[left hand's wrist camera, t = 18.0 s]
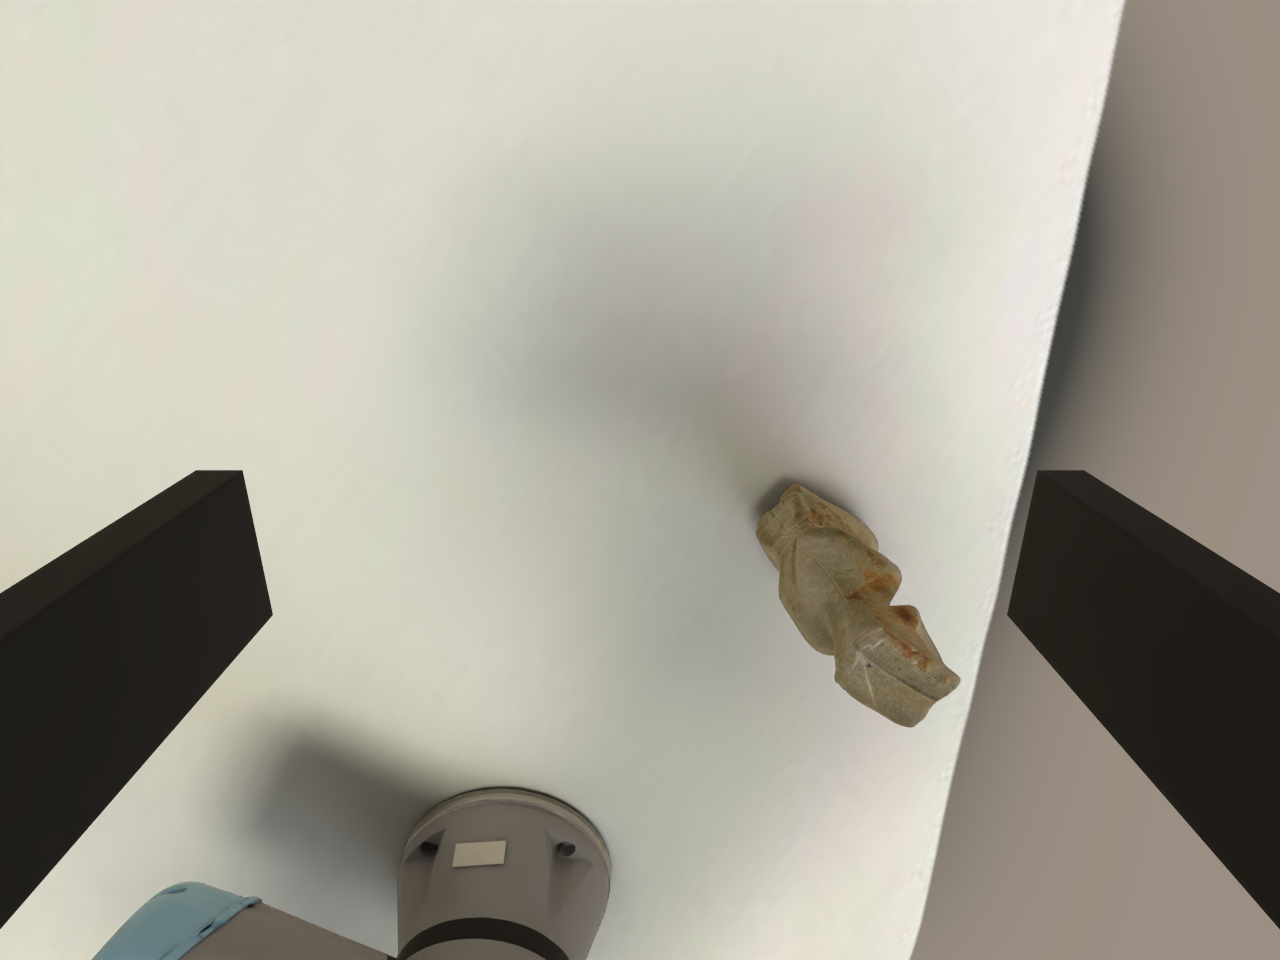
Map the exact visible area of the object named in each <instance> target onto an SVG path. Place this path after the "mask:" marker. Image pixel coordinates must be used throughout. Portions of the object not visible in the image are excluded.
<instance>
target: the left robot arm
mask: <svg viewBox="0 0 1280 960" xmlns="http://www.w3.org/2000/svg"><path fill="white" fill-rule="evenodd" d="M272 615H273V613H272V609H271V604H270V599H269V594H268V590H267V585H266V580H265V575H264V571H263V566H262V561H261V556H260V552H259V547H258V542H257V537H256V533H255V528H254V523H253V518H252V513H251V509H250V504H249V499H248V494H247V490H246V485H245V480H244V475H243V471H242V470H196V471H194V472H193V473H191V474H190V475H188V476H186V477H185V478H183V479H182V480H180V481H178V482H177V483H175V484H174V485H172V486H171V487H169V488H167V489H166V490H164V491H163V492H161V493H159V494H158V495H156V496H155V497H153V498H151V499H150V500H148V501H147V502H145V503H143V504H142V505H140V506H139V507H137V508H136V509H134V510H132V511H131V512H129V513H128V514H126V515H124V516H123V517H121V518H120V519H118V520H116V521H115V522H113V523H112V524H110V525H108V526H107V527H105V528H104V529H102V530H101V531H99V532H97V533H96V534H94V535H93V536H91V537H89V538H88V539H86V540H85V541H83V542H81V543H80V544H78V545H77V546H75V547H73V548H72V549H70V550H69V551H67V552H66V553H64V554H62V555H61V556H59V557H58V558H56V559H54V560H53V561H51V562H50V563H48V564H46V565H45V566H43V567H42V568H40V569H38V570H37V571H35V572H34V573H32V574H31V575H29V576H27V577H26V578H24V579H23V580H21V581H19V582H18V583H16V584H15V585H13V586H11V587H10V588H8V589H7V590H5V591H3V592H2V593H0V929H1V928H2V927H3V925H4V924H5V923H6V922H7V921H8V920H9V918H10V917H11V916H12V915H13V914H14V913H15V912H16V910H17V909H18V908H19V907H20V906H21V905H22V903H23V902H24V901H25V900H26V899H27V898H28V897H29V895H30V894H31V893H32V892H33V891H34V890H35V888H36V887H37V886H38V885H39V884H40V883H41V882H42V880H43V879H44V878H45V877H46V876H47V875H48V873H49V872H50V871H51V870H52V869H53V868H54V867H55V865H56V864H57V863H58V862H59V861H60V860H61V858H62V857H63V856H64V855H65V854H66V853H67V852H68V850H69V849H70V848H71V847H72V846H73V845H74V843H75V842H76V841H77V840H78V839H79V838H80V837H81V835H82V834H83V833H84V832H85V831H86V830H87V828H88V827H89V826H90V825H91V824H92V823H93V822H94V820H95V819H96V818H97V817H98V816H99V815H100V814H101V812H102V811H103V810H104V809H105V808H106V807H107V805H108V804H109V803H110V802H111V801H112V800H113V799H114V797H115V796H116V795H117V794H118V793H119V792H120V790H121V789H122V788H123V787H124V786H125V785H126V784H127V782H128V781H129V780H130V779H131V778H132V777H133V775H134V774H135V773H136V772H137V771H138V770H139V769H140V767H141V766H142V765H143V764H144V763H145V762H146V760H147V759H148V758H149V757H150V756H151V755H152V754H153V752H154V751H155V750H156V749H157V748H158V747H159V745H160V744H161V743H162V742H163V741H164V740H165V739H166V737H167V736H168V735H169V734H170V733H171V732H172V730H173V729H174V728H175V727H176V726H177V725H178V724H179V722H180V721H181V720H182V719H183V718H184V717H185V715H186V714H187V713H188V712H189V711H190V710H191V709H192V707H193V706H194V705H195V704H196V703H197V702H198V701H199V699H200V698H201V697H202V696H203V695H204V694H205V692H206V691H207V690H208V689H209V688H210V687H211V686H212V684H213V683H214V682H215V681H216V680H217V679H218V677H219V676H220V675H221V674H222V673H223V672H224V671H225V669H226V668H227V667H228V666H229V665H230V664H231V662H232V661H233V660H234V659H235V658H236V657H237V656H238V654H239V653H240V652H241V651H242V650H243V649H244V647H245V646H246V645H247V644H248V643H249V642H250V641H251V639H252V638H253V637H254V636H255V635H256V634H257V632H258V631H259V630H260V629H261V628H262V627H263V626H264V624H265V623H266V622H267V621H268V620H269V619H270V617H271V616H272ZM1007 615H1008V616H1009V617H1010V619H1011V620H1012V621H1013V622H1014V623H1015V624H1016V626H1017V627H1018V628H1019V629H1020V630H1021V631H1022V632H1023V634H1024V635H1025V636H1026V637H1027V638H1028V639H1029V641H1030V642H1031V643H1032V644H1033V645H1034V646H1035V647H1036V649H1037V650H1038V651H1039V652H1040V653H1041V654H1042V655H1043V657H1044V658H1045V659H1046V660H1047V661H1048V662H1049V664H1050V665H1051V666H1052V667H1053V668H1054V669H1055V671H1056V672H1057V673H1058V674H1059V675H1060V676H1061V677H1062V679H1063V680H1064V681H1065V682H1066V683H1067V684H1068V686H1069V687H1070V688H1071V689H1072V690H1073V691H1074V692H1075V694H1076V695H1077V696H1078V697H1079V698H1080V699H1081V701H1082V702H1083V703H1084V704H1085V705H1086V706H1087V707H1088V709H1089V710H1090V711H1091V712H1092V713H1093V714H1094V715H1095V717H1096V718H1097V719H1098V720H1099V721H1100V722H1101V724H1102V725H1103V726H1104V727H1105V728H1106V729H1107V730H1108V732H1109V733H1110V734H1111V735H1112V736H1113V737H1114V739H1115V740H1116V741H1117V742H1118V743H1119V744H1120V745H1121V747H1122V748H1123V749H1124V750H1125V751H1126V752H1127V754H1128V755H1129V756H1130V757H1131V758H1132V759H1133V760H1134V762H1135V763H1136V764H1137V765H1138V766H1139V767H1140V769H1141V770H1142V771H1143V772H1144V773H1145V774H1146V775H1147V777H1148V778H1149V779H1150V780H1151V781H1152V782H1153V784H1154V785H1155V786H1156V787H1157V788H1158V789H1159V790H1160V792H1161V793H1162V794H1163V795H1164V796H1165V797H1166V798H1167V800H1168V801H1169V802H1170V803H1171V804H1172V805H1173V807H1174V808H1175V809H1176V810H1177V811H1178V812H1179V814H1180V815H1181V816H1182V817H1183V818H1184V819H1185V820H1186V821H1187V823H1188V824H1189V825H1190V826H1191V827H1192V828H1193V830H1194V831H1195V832H1196V833H1197V834H1198V835H1199V837H1200V838H1201V839H1202V840H1203V841H1204V842H1205V843H1206V845H1207V846H1208V847H1209V848H1210V849H1211V850H1212V852H1213V853H1214V854H1215V855H1216V856H1217V857H1218V858H1219V860H1220V861H1221V862H1222V863H1223V864H1224V865H1225V866H1226V868H1227V869H1228V870H1229V871H1230V872H1231V873H1232V875H1233V876H1234V877H1235V878H1236V879H1237V880H1238V882H1239V883H1240V884H1241V885H1242V886H1243V887H1244V888H1245V890H1246V891H1247V892H1248V893H1249V894H1250V895H1251V897H1252V898H1253V899H1254V900H1255V901H1256V902H1257V903H1258V905H1259V906H1260V907H1261V908H1262V909H1263V910H1264V912H1265V913H1266V914H1267V915H1268V916H1269V917H1270V918H1271V920H1272V921H1273V922H1274V923H1275V924H1276V925H1277V927H1278V928H1279V929H1280V593H1278V592H1277V591H1275V590H1273V589H1272V588H1270V587H1269V586H1267V585H1265V584H1264V583H1262V582H1261V581H1259V580H1257V579H1256V578H1254V577H1253V576H1251V575H1249V574H1248V573H1246V572H1245V571H1243V570H1242V569H1240V568H1238V567H1237V566H1235V565H1234V564H1232V563H1230V562H1229V561H1227V560H1226V559H1224V558H1222V557H1221V556H1219V555H1218V554H1216V553H1214V552H1213V551H1211V550H1210V549H1208V548H1207V547H1205V546H1203V545H1202V544H1200V543H1199V542H1197V541H1195V540H1194V539H1192V538H1191V537H1189V536H1187V535H1186V534H1184V533H1183V532H1181V531H1179V530H1178V529H1176V528H1175V527H1173V526H1172V525H1170V524H1168V523H1167V522H1165V521H1164V520H1162V519H1160V518H1159V517H1157V516H1156V515H1154V514H1152V513H1151V512H1149V511H1148V510H1146V509H1144V508H1143V507H1141V506H1140V505H1138V504H1136V503H1135V502H1133V501H1132V500H1130V499H1129V498H1127V497H1125V496H1124V495H1122V494H1121V493H1119V492H1117V491H1116V490H1114V489H1113V488H1111V487H1109V486H1108V485H1106V484H1105V483H1103V482H1102V481H1100V480H1098V479H1097V478H1095V477H1094V476H1092V475H1090V474H1089V473H1087V472H1086V471H1084V470H1038V471H1037V475H1036V480H1035V485H1034V490H1033V494H1032V499H1031V504H1030V509H1029V514H1028V518H1027V523H1026V528H1025V533H1024V537H1023V542H1022V547H1021V552H1020V556H1019V561H1018V566H1017V571H1016V575H1015V580H1014V585H1013V590H1012V594H1011V599H1010V604H1009V609H1008V613H1007ZM610 871H611V867H610V859H609V855H608V851H607V849H606V846H605V844H604V842H603V840H602V838H601V837H600V835H599V834H598V832H597V831H596V830H595V828H594V827H593V826H592V825H591V824H590V823H589V822H588V821H587V820H586V819H585V818H584V817H583V816H581V815H580V814H579V813H578V812H576V811H575V810H573V809H572V808H570V807H568V806H567V805H565V804H563V803H561V802H559V801H557V800H554V799H552V798H549V797H547V796H544V795H541V794H537V793H533V792H528V791H523V790H515V789H486V790H479V791H474V792H469V793H465V794H462V795H459V796H456V797H454V798H451V799H449V800H447V801H445V802H443V803H441V804H439V805H438V806H436V807H435V808H433V809H432V810H431V811H429V812H428V813H427V814H426V815H425V816H424V817H423V818H422V819H421V820H420V821H419V822H418V823H417V825H416V826H415V828H414V829H413V831H412V832H411V834H410V837H409V839H408V841H407V844H406V847H405V850H404V853H403V855H402V859H401V862H400V867H399V874H398V881H397V898H398V956H397V958H394V957H392V956H389V955H387V954H385V953H383V952H380V951H378V950H375V949H373V948H370V947H368V946H365V945H363V944H360V943H358V942H355V941H352V940H350V939H347V938H345V937H342V936H340V935H338V934H335V933H333V932H330V931H328V930H326V929H323V928H321V927H318V926H316V925H314V924H311V923H309V922H306V921H304V920H302V919H299V918H297V917H294V916H292V915H290V914H287V913H285V912H283V911H280V910H278V909H275V908H273V907H271V906H268V905H266V904H263V903H262V900H261V899H260V898H258V897H247V898H245V897H242V896H239V895H235V894H232V893H229V892H226V891H223V890H220V889H217V888H215V887H212V886H209V885H206V884H203V883H199V882H184V883H179V884H176V885H173V886H171V887H169V888H166V889H164V890H163V891H161V892H159V893H158V894H157V895H155V896H154V897H153V898H151V899H150V900H149V901H148V902H146V903H145V904H144V905H143V906H142V907H141V908H140V909H139V910H137V911H136V912H135V913H134V914H133V915H132V916H131V917H130V918H129V919H128V920H127V921H126V922H125V923H124V924H123V926H122V927H121V928H120V929H119V930H118V931H117V932H116V933H115V934H114V935H113V936H112V938H111V939H110V940H109V941H108V942H107V943H106V944H105V945H104V946H103V947H102V949H101V950H100V951H99V952H98V953H97V954H96V955H95V957H94V958H93V959H92V960H586V958H587V955H588V953H589V950H590V948H591V945H592V943H593V941H594V938H595V936H596V933H597V931H598V929H599V926H600V924H601V921H602V919H603V916H604V913H605V910H606V906H607V902H608V898H609V892H610Z"/></svg>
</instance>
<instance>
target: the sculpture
mask: <svg viewBox="0 0 1280 960" xmlns="http://www.w3.org/2000/svg"><path fill="white" fill-rule="evenodd" d="M757 526H758V529H757V531H756V535H757V538H758V540H759V542H760V544H761V546H762V547H763V549H764V551H765V553H766V554H767V556H768V558H769V559H770V560H771V562H772V563H773V565H774V566H775V567H776V568H777V569H778V570H779V571H780V577H779V597H780V600H781V602H782V604H783V606H784V608H785V609H786V611H787V612H788V614H789V615H790V617H791V618H792V620H793V621H794V623H795V625H796V626H797V628H798V629H799V631H800V633H801V634H802V636H803V637H804V638H805V640H806V641H807V642H808V643H809V645H810V646H811V647H813V648H814V649H815V650H816V651H818V652H820V653H822V654H825V655H834V657H835V664H836V672H835V676H834V677H835V681H836V682H837V683H838V684H840V686H841V687H842V688H843V689H844V690H846V691H847V692H848V693H849V694H850V695H851V696H852V697H853V698H855V699H856V700H857V701H859V702H860V703H862V704H864V705H865V706H867V707H869V708H871V709H873V710H875V711H876V712H878V713H880V714H881V715H883V716H885V717H886V718H888V719H889V720H891V721H892V722H894V723H896V724H899V725H901V726H905V727H914V726H915V725H916V724H918V723H919V722H920V721H922V720H923V719H924V718H925V717H926V715H927V713H928V711H929V709H930V708H931V707H932V705H933V704H934V703H936V702H937V701H938V700H940V699H942V698H944V697H945V696H947V695H948V694H949V693H951V692H952V691H953V690H955V689H956V687H957V686H958V685H959V683H960V680H961V679H960V677H959V676H958V675H956V674H955V673H954V672H953V671H951V670H950V669H949V668H948V667H947V666H946V665H945V664H944V663H943V661H942V659H941V657H940V654H939V652H938V651H937V649H936V647H935V645H934V643H933V641H932V640H931V638H930V636H929V634H928V633H927V631H926V629H925V627H924V625H923V623H922V620H921V617H920V614H919V612H918V610H917V609H916V608H915V607H914V606H911V605H900V606H889V604H890V602H891V600H892V598H893V597H894V595H895V593H896V592H897V590H898V588H899V586H900V583H901V579H902V576H901V572H900V570H899V568H898V567H897V566H896V565H895V564H894V563H892V562H891V561H890V560H889V559H887V558H886V557H885V556H883V555H882V554H880V553H879V552H878V542H877V539H876V537H875V535H874V534H873V533H872V531H871V530H870V529H869V528H868V527H867V526H866V525H865V524H864V523H863V522H861V521H860V520H859V519H857V518H856V517H855V516H853V515H851V514H850V513H848V512H846V511H845V510H843V509H841V508H839V507H837V506H835V505H833V504H831V503H829V502H827V501H825V500H823V499H821V498H820V497H818V496H817V495H815V494H814V493H812V492H810V491H808V490H807V489H806V488H805V487H803V486H801V485H798V484H793V485H791V486H790V487H789V488H788V489H787V490H786V491H785V492H784V493H783V494H782V495H781V496H780V502H779V503H778V504H777V505H776V506H775V507H774V508H773V509H772V510H768V511H766V512H765V514H764V515H763V516H762V518H761V519H760V520H759V522H758V524H757Z"/></svg>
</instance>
